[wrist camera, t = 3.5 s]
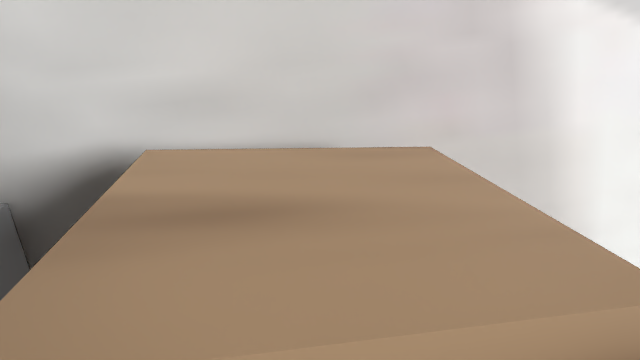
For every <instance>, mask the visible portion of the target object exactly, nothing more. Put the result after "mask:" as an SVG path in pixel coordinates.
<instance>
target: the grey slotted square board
mask: <svg viewBox="0 0 640 360" xmlns="http://www.w3.org/2000/svg"><path fill="white" fill-rule="evenodd" d="M29 271H30V269H29V266H28V263H27V260H26V257H25V254H24V251H23V248H22V245H21V242H20V239H19V236H18V233H17V231H16V228H15V225H14V222H13V219H12V216H11V213H10V210H9V207H8V204H0V301H1V300H2V299H3V298H4V297H5V296H6V295H7V294H8V293H9V291H10V290H11V289H12V288H13V287H14V286H15V285H16V284H17V283H18V282H19V281H20V280H21V279H22V278H23V277H24V276H25V275H26V274H27V273H28V272H29Z"/></svg>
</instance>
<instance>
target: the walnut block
mask: <svg viewBox="0 0 640 360" xmlns="http://www.w3.org/2000/svg"><path fill="white" fill-rule="evenodd" d="M0 360H640V269H639V268H638V267H636V266H634V265H633V264H631V263H629V262H627V261H626V260H624V259H622V258H621V257H619V256H617V255H615V254H614V253H612V252H610V251H608V250H607V249H605V248H603V247H602V246H600V245H598V244H596V243H595V242H593V241H591V240H590V239H588V238H586V237H584V236H583V235H581V234H579V233H578V232H576V231H574V230H572V229H571V228H569V227H567V226H566V225H564V224H562V223H560V222H559V221H557V220H555V219H553V218H552V217H550V216H548V215H547V214H545V213H543V212H541V211H540V210H538V209H536V208H535V207H533V206H531V205H529V204H528V203H526V202H524V201H523V200H521V199H519V198H517V197H516V196H514V195H512V194H510V193H509V192H507V191H505V190H504V189H502V188H500V187H498V186H497V185H495V184H493V183H492V182H490V181H488V180H486V179H485V178H483V177H481V176H480V175H478V174H476V173H474V172H473V171H471V170H469V169H467V168H466V167H464V166H462V165H461V164H459V163H457V162H455V161H454V160H452V159H450V158H449V157H447V156H445V155H443V154H442V153H440V152H438V151H437V150H435V149H433V148H431V147H371V148H283V149H196V150H146V151H145V152H144V153H143V154H142V155H141V156H140V157H139V158H138V159H137V160H136V161H135V162H134V163H133V164H132V165H131V166H130V167H129V168H128V169H127V170H126V171H125V172H124V173H123V175H122V176H121V177H120V178H119V179H118V180H117V181H116V182H115V183H114V184H113V185H112V186H111V187H110V188H109V189H108V190H107V191H106V192H105V193H104V194H103V195H102V196H101V197H100V198H99V199H98V200H97V201H96V202H95V203H94V205H93V206H92V207H91V208H90V209H89V210H88V211H87V212H86V213H85V214H84V215H83V216H82V217H81V218H80V219H79V220H78V221H77V222H76V223H75V224H74V225H73V226H72V227H71V228H70V229H69V230H68V231H67V232H66V234H65V235H64V236H63V237H62V238H61V239H60V240H59V241H58V242H57V243H56V244H55V245H54V246H53V247H52V248H51V249H50V250H49V251H48V252H47V253H46V254H45V255H44V256H43V257H42V258H41V259H40V260H39V261H38V262H37V264H36V265H35V266H34V267H33V268H32V269H31V270H30V271H29V272H28V273H27V274H26V275H25V276H24V277H23V278H22V279H21V280H20V281H19V282H18V283H17V284H16V285H15V286H14V287H13V288H12V289H11V290H10V291H9V293H8V294H7V295H6V296H5V297H4V298H3V299H2V300H1V301H0Z"/></svg>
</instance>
